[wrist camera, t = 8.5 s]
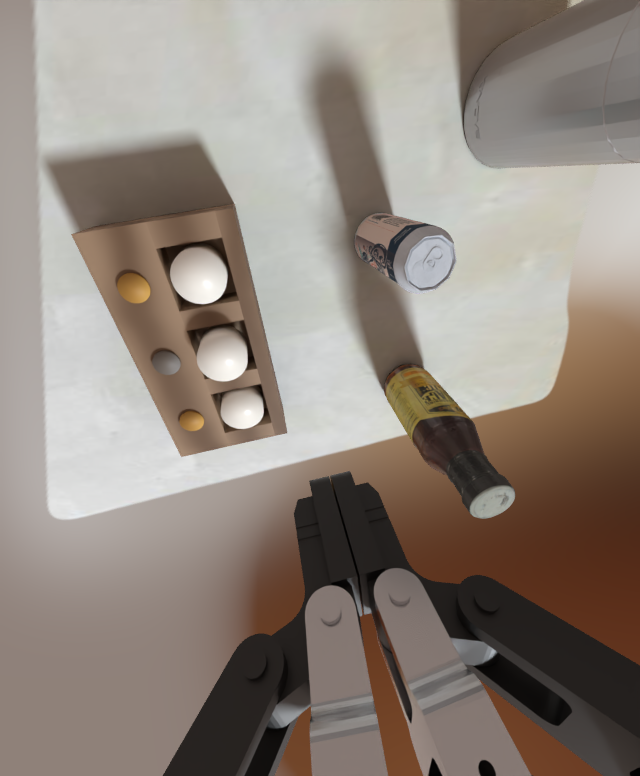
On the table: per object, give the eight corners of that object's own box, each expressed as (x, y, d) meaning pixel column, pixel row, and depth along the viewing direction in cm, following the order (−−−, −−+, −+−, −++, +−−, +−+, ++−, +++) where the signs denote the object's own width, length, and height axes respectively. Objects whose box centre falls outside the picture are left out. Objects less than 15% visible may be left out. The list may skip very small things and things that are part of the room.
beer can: (343, 248, 34) (385, 277, 24) (370, 201, 32) (428, 212, 22) (380, 272, 36) (432, 308, 26) (407, 229, 34) (475, 251, 24)
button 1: (220, 239, 29) (217, 244, 27) (233, 289, 32) (233, 298, 29) (168, 247, 29) (161, 254, 26) (186, 297, 31) (181, 308, 29)
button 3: (257, 376, 37) (258, 390, 34) (266, 408, 39) (267, 423, 37) (217, 384, 36) (215, 399, 34) (228, 416, 39) (227, 432, 36)
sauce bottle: (435, 370, 44) (550, 486, 28) (408, 407, 47) (499, 533, 30) (396, 353, 42) (497, 468, 25) (370, 393, 44) (446, 522, 28)
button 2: (240, 320, 32) (240, 333, 29) (251, 361, 34) (252, 375, 32) (193, 329, 31) (189, 343, 29) (208, 370, 34) (205, 385, 31)
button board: (234, 203, 30) (232, 208, 26) (282, 408, 43) (287, 434, 38) (96, 226, 29) (69, 234, 25) (187, 428, 42) (180, 458, 37)
